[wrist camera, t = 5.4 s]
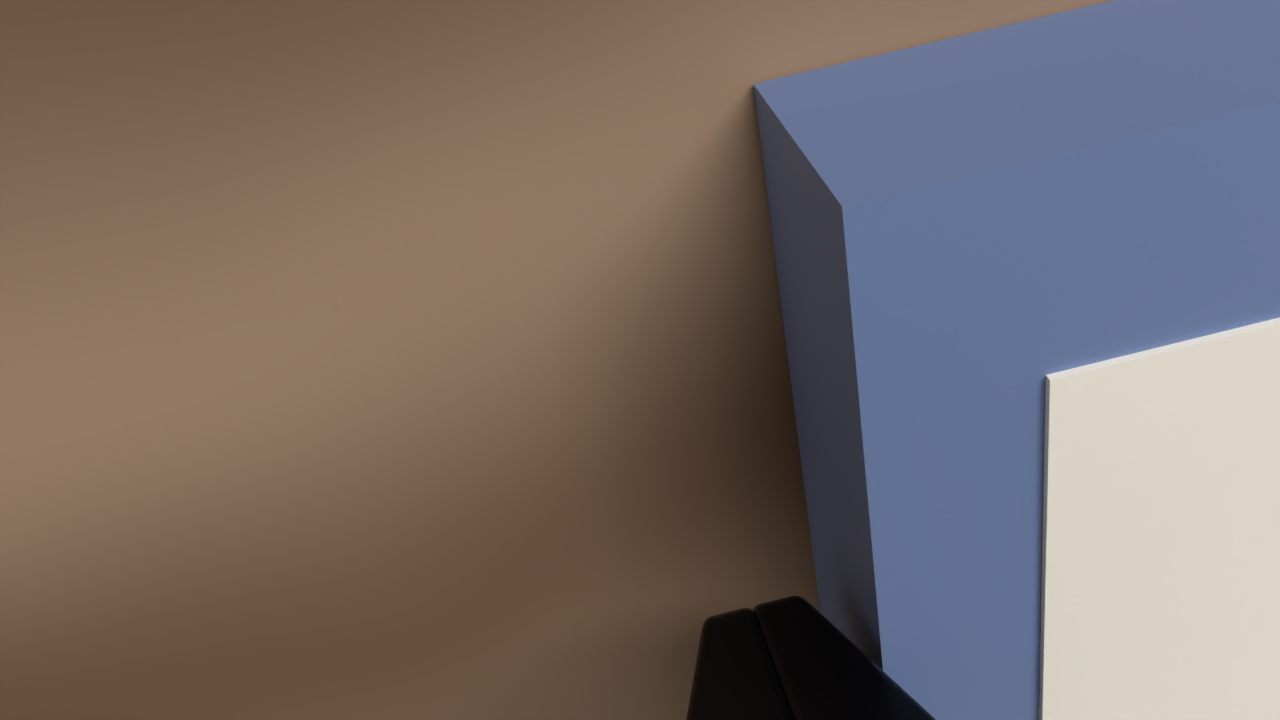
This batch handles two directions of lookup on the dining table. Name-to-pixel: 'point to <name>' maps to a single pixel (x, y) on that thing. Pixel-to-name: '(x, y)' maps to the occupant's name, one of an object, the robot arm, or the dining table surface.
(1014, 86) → the card box
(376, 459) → the board
